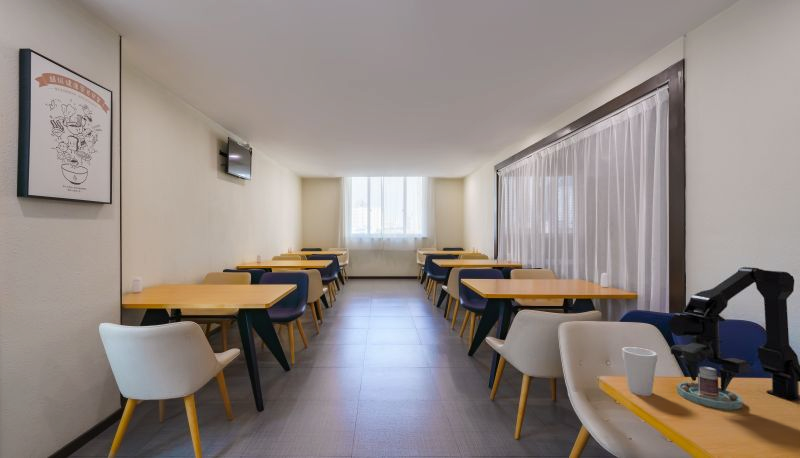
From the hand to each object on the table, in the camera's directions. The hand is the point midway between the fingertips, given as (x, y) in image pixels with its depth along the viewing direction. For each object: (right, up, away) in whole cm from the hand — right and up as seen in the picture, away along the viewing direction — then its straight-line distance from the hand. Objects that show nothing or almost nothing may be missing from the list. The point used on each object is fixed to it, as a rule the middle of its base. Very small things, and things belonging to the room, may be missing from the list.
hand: (708, 385), depth 109 cm
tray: (0, -4, 0) cm, 4 cm away
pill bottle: (0, -3, 0) cm, 3 cm away
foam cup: (-18, -4, +5) cm, 19 cm away
